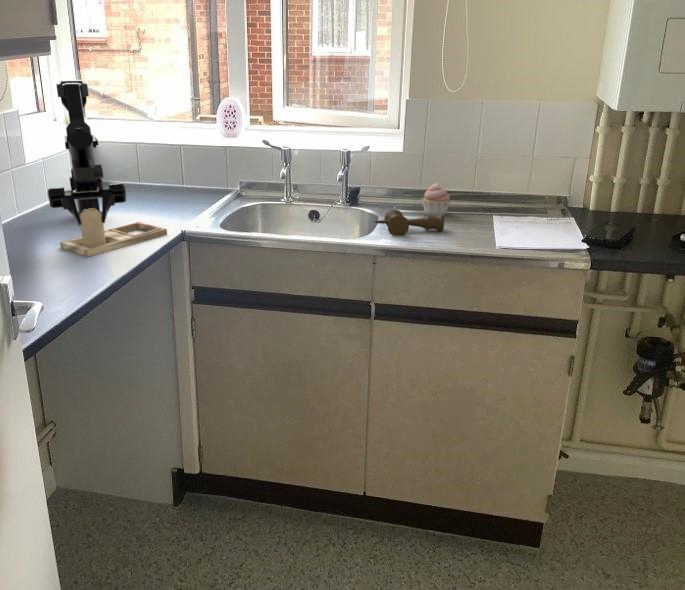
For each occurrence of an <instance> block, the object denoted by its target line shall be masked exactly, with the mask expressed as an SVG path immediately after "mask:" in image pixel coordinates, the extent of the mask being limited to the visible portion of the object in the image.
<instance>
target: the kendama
mask: <svg viewBox="0 0 685 590" xmlns="http://www.w3.org/2000/svg"><path fill="white" fill-rule="evenodd" d="M373 223H374V224H383V225H384V224H385V225H386V227H387V230H388V232H389V234H390V235H392V236H393V237H394V236H395V237H400V236H404V235H406V234H407V233H408V231H409V228H410V226H411V227H419V228H422V229H424V230H426V231H430V230H436V231H438V232H439V233H440V232H443V231H444V228H445V216H443V215H442V214H440V215H438V216H435V217H431V216H428V215H426V214H425V216H423V217H419V218H411V219H408V218H407V217H405V216H404V215H403V213H402V211H400V210H399V209H396V208H395V209H390V210H388V211H387V212H386V213H385V215H384V220H374V221H373Z"/></svg>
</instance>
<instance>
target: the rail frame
mask: <svg viewBox="0 0 685 590" xmlns="http://www.w3.org/2000/svg"><path fill="white" fill-rule="evenodd" d="M135 229H136V230H142V231H144V232H141V233H137V234H132V233H128V232H126V231H129V232H131V230H132V231H135ZM104 234H105V242H106V244H103V245H100V246H96V247H92V248H87V247H84V246H83V239H82V236H78V237H75V238H71V239H66V240H62V241H60V242H59V245H60V249H64V250H66V251H70V252H73V253H77V254H78V255H83V256H86V257H92V256H96V255H99V254H103V253H105V252H109V251H113V250H116V249H115V248H117V249H119V248H118V247H120V248H123V247H122V246H124V247H126V246H125V245H127V246H130V245H129V244H131V245H133V243H134V244H137V243H140V242H144V241H148V240H152V239H155V238H159V237H161V236H165V235H168V228H166V227H161V226H156V225H152V224H149V223H147V222H146V223H144V222H142V221H137V222H133V223H129V224H125V225H121V226H117V227H113V228H110V229H106V230H105V229H104ZM112 249H113V250H112Z"/></svg>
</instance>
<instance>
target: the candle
mask: <svg viewBox="0 0 685 590" xmlns="http://www.w3.org/2000/svg"><path fill="white" fill-rule="evenodd" d="M79 218H80V225H79V226H80V231H81V237H82V239H83V244H82V246H84V247H87V248H92V247H96V246H100V245H103V244H107V242H106V241H105V234H104V231H105V228H104V223H103V219H102V213H101V212H99V211H98V210H97V209H96V208H89V209H84V210H83V211H82V213H81V214H80V215H79Z"/></svg>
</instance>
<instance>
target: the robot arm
mask: <svg viewBox="0 0 685 590" xmlns="http://www.w3.org/2000/svg"><path fill="white" fill-rule="evenodd" d="M55 85H56V91H57V97H58V98H60V100H61V104H62V106H63V107H64V108H65V109H66V111H67V112H68V119H69V120H68V121H69V123H68V124H67V126H66V127H65V131H66V135H64V136H63V137H64V146H65V150H68V151H69V154H70V155H69V156H70V160H71V161H70V163H71V167H72V168H71V171H70V173H71V176H69V183H70V189H68V190H65V187H64V186H58V187H57V186H55V187H49V189H47V198H48V201H49V205H50V208H52V209H56V208H62V209H63V210H67V211H68V212H70V214H71V215H72V217H73V218H74V219H75V222H76V223H77V225H78V226H81V225H80V218H79V215H80V214H81V213H82V211H83V210H84V209H89V208H96V209H97V210H98V211H99V212H101V213H102V219H103V224H105V223H106V220H107V216H108V212H109V211H110V208H111V207H113V206H115V205H116V204H120V203H125V202H127V196H126V193H127V192H126V186H125V184H124V183H122V182H117V183H108V189H104V185H103V178H104V172H103V166H102V164H96V163H95V157H94V156H95V155H94V154H95V153H94V149H97V146H99V140H98V139H97V137H96V136H95V134H92V128H91V125H89V124H88V123H86V119H85V114H84V109H85V107H86V104H87V103H88V102H87V97H89V95H90V94H89V88H88V87H89V86H88V83H84V82H83V79H61V80H60V82H59V83H57V84H55ZM99 199H101V201H102V202H101V203H102V204H101V205H102V206H101V207H102V208H100V202H99ZM75 200H76V201H75ZM76 203H77V204H76Z"/></svg>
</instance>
